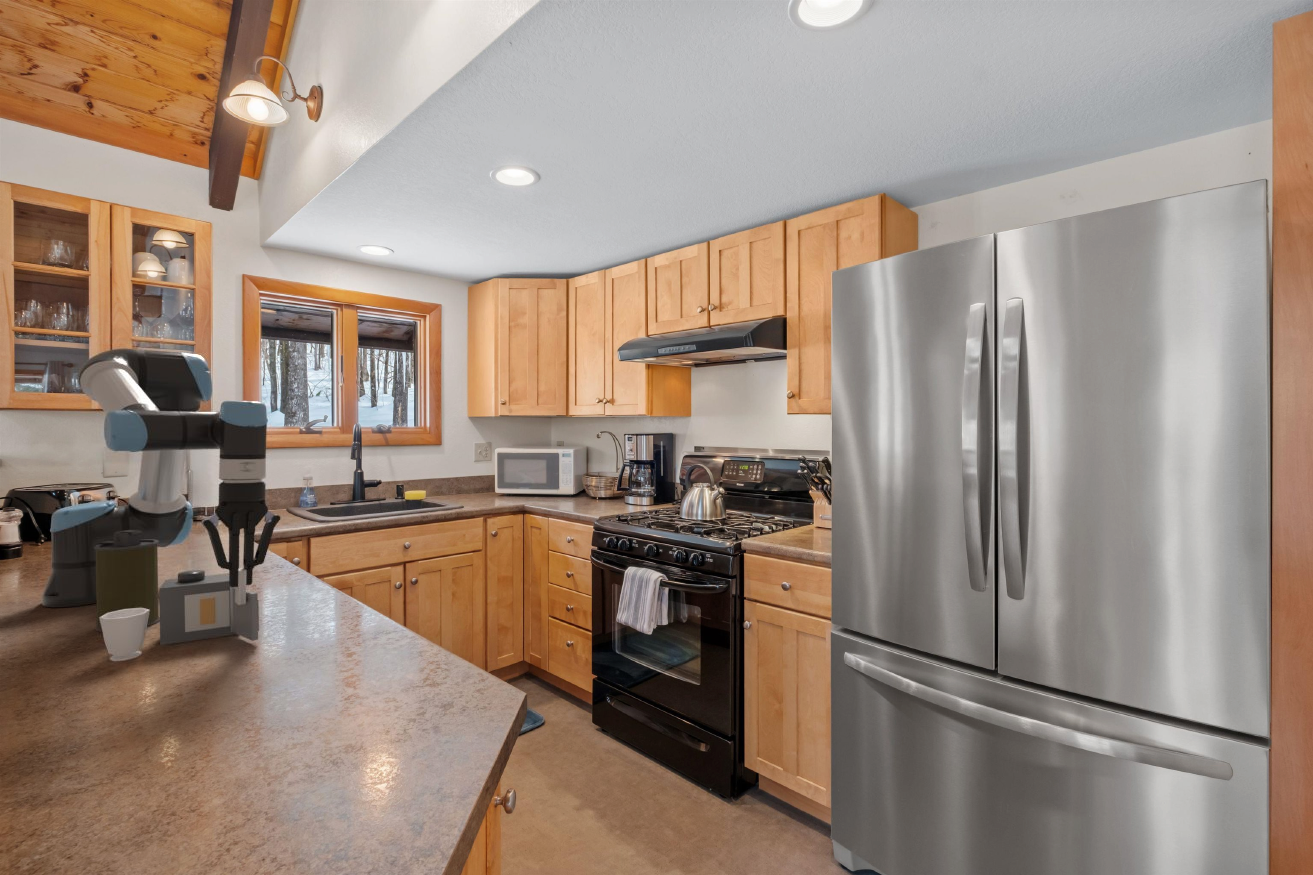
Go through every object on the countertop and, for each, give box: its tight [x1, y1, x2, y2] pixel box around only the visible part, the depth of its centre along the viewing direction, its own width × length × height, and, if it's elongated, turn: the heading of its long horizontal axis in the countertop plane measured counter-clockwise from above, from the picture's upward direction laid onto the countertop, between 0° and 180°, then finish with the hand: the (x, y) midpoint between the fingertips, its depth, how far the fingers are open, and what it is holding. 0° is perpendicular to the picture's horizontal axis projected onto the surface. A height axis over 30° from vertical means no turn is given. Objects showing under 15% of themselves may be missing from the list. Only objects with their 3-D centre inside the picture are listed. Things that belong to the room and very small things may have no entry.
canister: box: [94, 530, 160, 633], centre depth 132 cm, size 11×10×20 cm
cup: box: [99, 608, 150, 662], centre depth 115 cm, size 7×10×8 cm
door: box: [230, 587, 260, 642], centre depth 122 cm, size 2×10×9 cm, turn 55°
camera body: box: [158, 569, 237, 646], centre depth 126 cm, size 8×13×12 cm, turn 121°
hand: (240, 602), depth 120 cm, fingers closed
